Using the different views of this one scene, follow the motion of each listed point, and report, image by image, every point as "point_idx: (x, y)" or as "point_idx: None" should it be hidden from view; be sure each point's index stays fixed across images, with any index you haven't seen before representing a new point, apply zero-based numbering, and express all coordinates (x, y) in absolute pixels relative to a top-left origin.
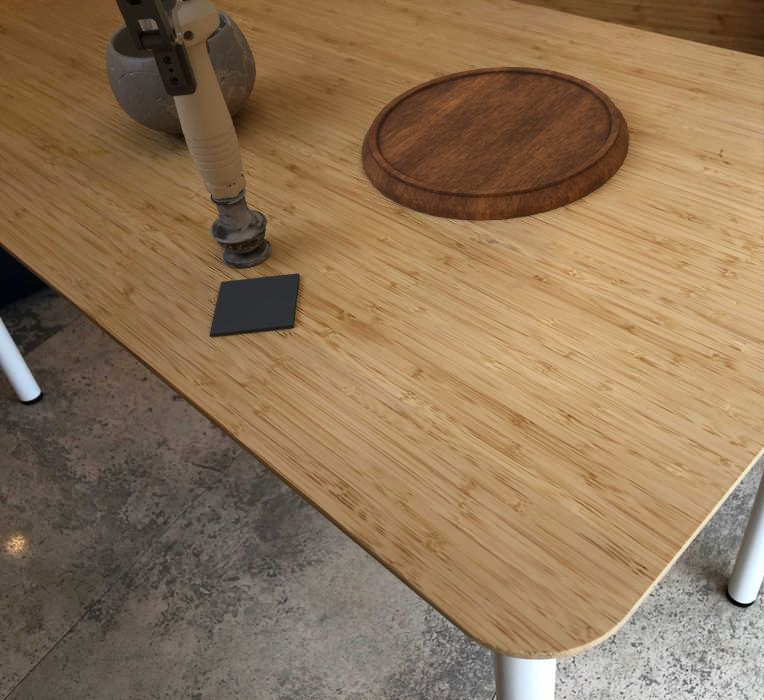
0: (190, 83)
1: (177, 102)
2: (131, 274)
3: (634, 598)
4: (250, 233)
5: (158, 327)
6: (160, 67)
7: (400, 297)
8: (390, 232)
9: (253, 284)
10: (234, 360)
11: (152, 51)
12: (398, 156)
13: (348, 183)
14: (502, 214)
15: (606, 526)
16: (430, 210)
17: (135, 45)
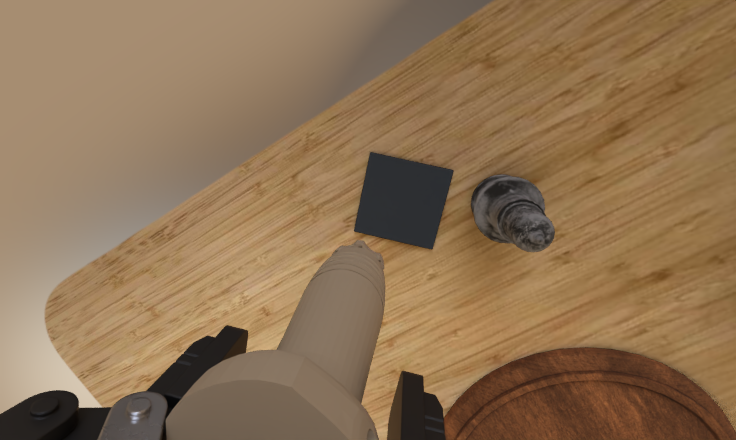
0: None
1: (304, 309)
2: (524, 64)
3: (67, 365)
4: (481, 222)
5: (408, 98)
6: (166, 372)
7: None
8: (465, 342)
9: (433, 203)
10: (329, 171)
11: (171, 388)
12: (581, 394)
13: (583, 326)
14: None
15: (112, 371)
16: (476, 386)
17: (17, 404)
